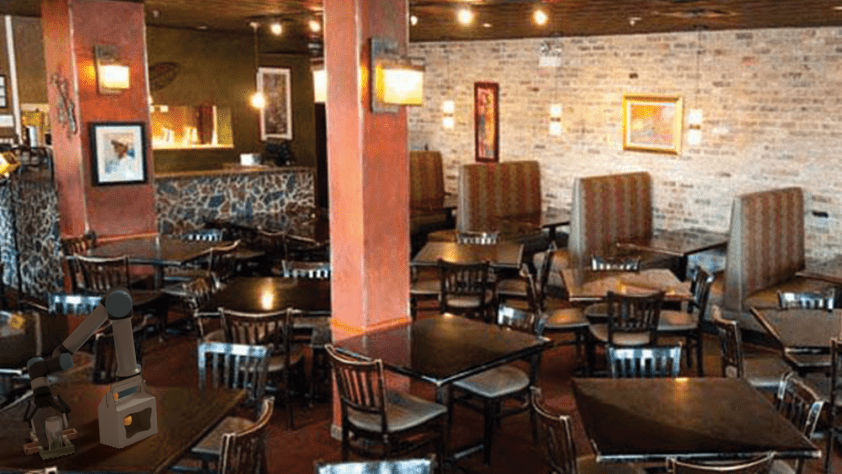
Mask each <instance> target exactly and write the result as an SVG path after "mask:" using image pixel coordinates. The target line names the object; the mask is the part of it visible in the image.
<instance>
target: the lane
mask: <svg viewBox="0 0 842 474" xmlns="http://www.w3.org/2000/svg"><path fill="white" fill-rule="evenodd" d="M29 438H30V439H31V442H32V443H33V442H36V447H38V451H39V453H38V454H39V456H40V458H41V457H42V458H41V459H43V460H42V461H46V460H45V459H47V460H50V459H49V458H52V459H55V457H56V458H60V456H61V457H64V456H63V455H65V456H68V454H70V455H73V454H72V453H74V454H75V453H76V451H75V444H72V442H71V440H69V439H68V437H67V436H66V435H64V433H63V436H62V439H63V441H62V443H64V445H65V446H63V447H61V448H56V449H51V450H49V449H48V450H47V449H46V450H45V449H44V448H43V446H42V445H40V441H39V439H38V437H37V435H36V434H35V435H34V436H33V432H32V431H30V432H29Z"/></svg>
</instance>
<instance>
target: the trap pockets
mask: <svg viewBox="0 0 842 474" xmlns="http://www.w3.org/2000/svg"><path fill="white" fill-rule="evenodd" d="M63 433H64V435H66V436H67V437H68V439H69V441H71V440H77V439H78V438H79V433H78V431H77V430H76V428H75V427H73V428H67V429H65V430H64V429H63ZM62 442H63V439H62ZM22 447H23V448H22V449H23V452H24V454H25V455H26V456H30V455H34V454H33V453H35V454H38V453H37V452H39V451H38V447H36V442H33V441H32V442H29V443H28V442H27V443H25V444H22ZM29 454H30V455H29Z"/></svg>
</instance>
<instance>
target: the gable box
mask: <svg viewBox="0 0 842 474" xmlns="http://www.w3.org/2000/svg"><path fill="white" fill-rule="evenodd" d="M134 386H138V387H137V392H136V393H133V394H130V395H128V396H125V397H122V398H119V399H118V398H116V399H115V396H114V395H115V394H118V392H120V391H123V390H126V389H129V388H132V387H134ZM156 399H157V398H156V396H155V395H154V393H153V391H152V390H151V389H150V387H149V386H148V385H147V383H146V379H143V377H142V378H141V376H140V375H137V376H134V377H131V378H128V379H125V380H122V381H120V382H114V383H112V384H110V387H109V390H108V391H106V393H105V395H104V396H103V397H102V399H101V401H100V402H99V404H98V406H97V415H98V427H99V442H100V444H102V445H105V444H106V446H108V445H109V446H108V447H111V446H112V448H115V447H116V448H115V449H118V448H119V449H118V450H120V448H121V449H123V448H125V446H126V447H128V446H130V445H133V444H135V443H137V442H139V441H142V440H144V439H147V438H149V437H151V436H153V435H156V434H158V418H157V402H156V401H157V400H156ZM127 416H130V418H131V422H130V423H129V424H128V425H125V424H124V419H125V417H127Z"/></svg>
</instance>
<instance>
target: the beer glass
mask: <svg viewBox="0 0 842 474" xmlns="http://www.w3.org/2000/svg"><path fill="white" fill-rule="evenodd" d="M63 424H64V423H63V417H61V416H51V417H47V418H46V419H45V434H46V437H47V440H48V441H47V442H48V450H51V449H56V448H61V447H64V446H63V441H62V436H63V430H64V425H63Z"/></svg>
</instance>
